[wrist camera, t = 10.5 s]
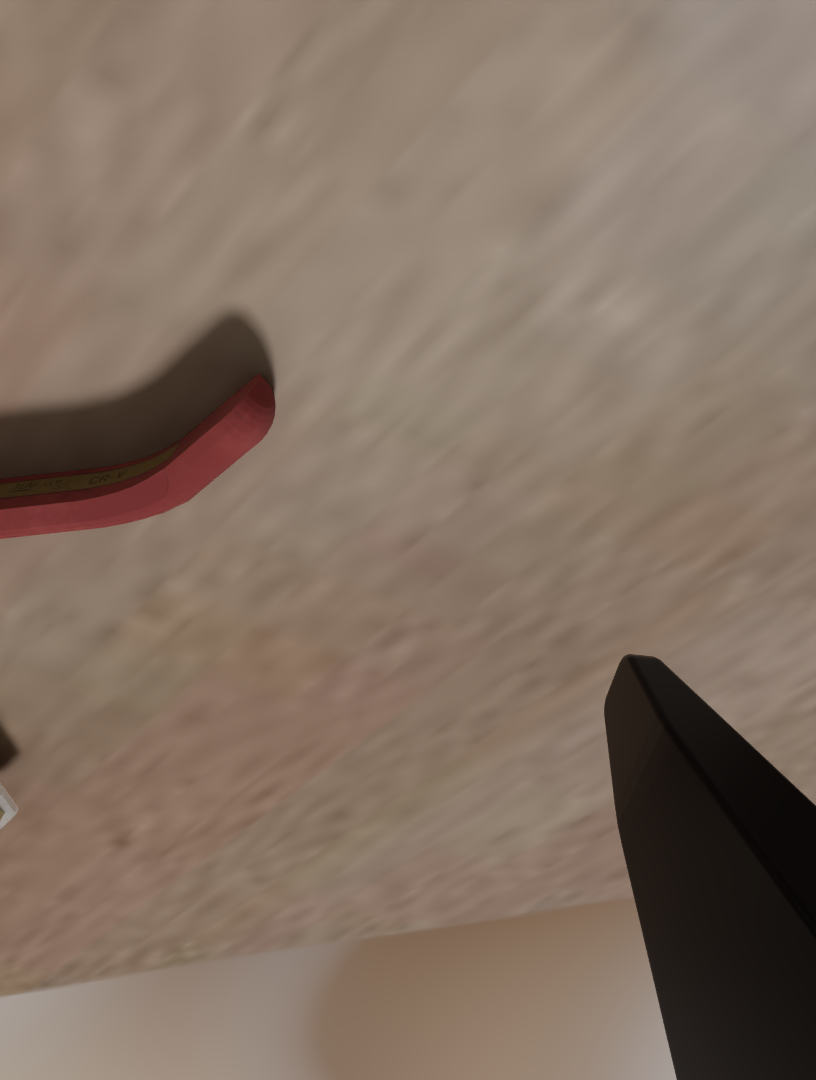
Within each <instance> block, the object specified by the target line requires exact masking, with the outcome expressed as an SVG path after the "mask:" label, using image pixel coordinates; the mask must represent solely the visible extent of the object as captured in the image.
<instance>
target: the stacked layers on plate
mask: <svg viewBox="0 0 816 1080" xmlns="http://www.w3.org/2000/svg"><path fill="white" fill-rule="evenodd" d="M17 811H18V807H17V805H16V804H15V803H14V801H13V800H12V798H11V797H10V795H9V794H8V793H7V791H6V790H5V788H4V787H3V785H2V784H1V783H0V829H1V828H2V827H3V826H4V825H5V824H6V823H8V822H9V821H10V820H11V819H12V818H13V817H14V816H15V814H16V813H17Z"/></svg>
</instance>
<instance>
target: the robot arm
mask: <svg viewBox="0 0 816 1080" xmlns="http://www.w3.org/2000/svg"><path fill="white" fill-rule="evenodd" d="M604 716H605V725H606V734H607V742H608V751H609V759H610V768H611V776H612V785H613V793H614V802H615V810H616V817H617V824H618V829H619V833H620V838H621V843H622V847H623V852H624V856H625V860H626V864H627V869H628V873H629V877H630V882H631V886H632V890H633V894H634V899H635V903H636V907H637V911H638V916H639V920H640V924H641V928H642V933H643V937H644V941H645V945H646V950H647V954H648V958H649V963H650V967H651V971H652V975H653V980H654V984H655V988H656V993H657V997H658V1001H659V1005H660V1010H661V1014H662V1018H663V1023H664V1027H665V1031H666V1035H667V1040H668V1044H669V1048H670V1052H671V1057H672V1061H673V1065H674V1069H675V1073H676V1078H677V1080H816V805H815V804H813V803H812V802H811V801H810V800H809V799H808V798H807V797H806V796H805V795H804V794H803V793H802V792H801V791H800V790H799V789H797V788H796V787H795V786H794V785H793V784H792V783H791V782H790V781H789V780H788V779H787V778H786V777H785V776H784V775H783V774H781V773H780V772H779V771H778V770H777V769H776V768H775V767H774V766H773V765H772V764H771V763H770V762H769V761H768V760H766V759H765V758H764V757H763V756H762V755H761V754H760V753H759V752H758V751H757V750H756V749H755V748H754V747H753V746H752V745H750V744H749V743H748V742H747V741H746V740H745V739H744V738H743V737H742V736H741V735H740V734H739V733H738V732H737V731H736V730H734V729H733V728H732V727H731V726H730V725H729V724H728V723H727V722H726V721H725V720H724V719H723V718H722V717H721V716H720V715H718V714H717V713H716V712H715V711H714V710H713V709H712V708H711V707H710V706H709V705H708V704H707V703H706V702H705V701H704V700H702V699H701V698H700V697H699V696H698V695H697V694H696V693H695V692H694V691H693V690H692V689H691V688H690V687H689V686H688V685H686V684H685V683H684V682H683V681H682V680H681V679H680V678H679V677H678V676H677V675H676V674H675V673H674V672H673V671H671V670H670V669H669V668H668V667H667V666H666V665H665V664H664V663H663V662H662V661H661V660H659V659H658V658H656V657H652V656H643V655H634V654H629V655H626V656H624V657H623V658H622V660H621V661H620V663H619V666H618V668H617V671H616V673H615V676H614V679H613V681H612V684H611V686H610V689H609V691H608V694H607V697H606V700H605V707H604Z"/></svg>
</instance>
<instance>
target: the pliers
mask: <svg viewBox="0 0 816 1080" xmlns="http://www.w3.org/2000/svg"><path fill="white" fill-rule="evenodd" d="M274 416H275V398H274V393H273V391H272V389H271V387H270V385H269V384H268V383H267V382H266V381H265V379H264V378H263V377H262V376H261V375H260V374H258V375H257V376H255V377H254V378H253V379H252V380H251V381H249V382H248V383H247V384H246V385H245V386H243V387H242V388H241V389H240V390H239V391H237V392H236V393H235V394H234V395H233V396H231V397H230V398H229V399H228V400H227V401H225V402H224V403H223V404H222V405H221V406H220V407H218V408H217V409H216V410H215V411H214V412H213V413H211V414H210V415H209V416H208V417H207V418H206V419H204V420H203V421H202V422H201V423H200V424H199V425H197V426H196V427H195V428H194V429H193V430H192V431H190V432H189V433H188V434H187V435H186V436H185V437H183V438H182V439H180V440H179V441H177V442H176V443H174V444H173V445H171V446H169V447H167V448H166V449H164V450H162V451H160V452H158V453H156V454H153V455H150V456H148V457H145V458H142V459H139V460H135V461H132V462H128V463H124V464H119V465H114V466H109V467H101V468H92V469H84V470H75V471H66V472H57V473H48V474H40V475H31V476H22V477H13V478H4V479H0V539H2V538H11V537H20V536H30V535H39V534H48V533H58V532H67V531H76V530H85V529H95V528H103V527H109V526H114V525H120V524H125V523H129V522H133V521H137V520H141V519H145V518H148V517H151V516H155V515H158V514H161V513H164V512H166V511H168V510H170V509H172V508H174V507H177V506H179V505H181V504H183V503H185V502H187V501H189V500H190V499H191V498H193V497H194V496H195V495H196V494H197V493H199V492H200V491H201V490H202V489H203V488H205V487H206V486H207V485H208V484H209V483H211V482H212V481H213V480H214V479H215V478H217V477H218V476H219V475H220V474H221V473H223V472H224V471H225V470H226V469H227V468H229V467H230V466H231V465H232V464H233V463H235V462H236V461H237V460H238V459H239V458H241V457H242V456H243V455H244V454H245V453H247V452H248V451H249V450H250V449H251V448H253V447H254V446H255V445H256V444H258V443H259V442H260V441H261V440H262V439H263V438H264V437H265V435H266V434H267V433H268V431H269V429H270V427H271V425H272V423H273V420H274Z"/></svg>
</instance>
